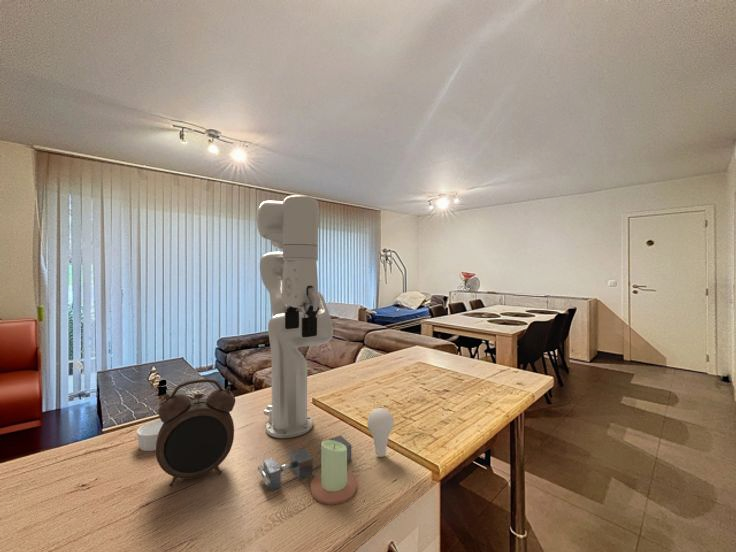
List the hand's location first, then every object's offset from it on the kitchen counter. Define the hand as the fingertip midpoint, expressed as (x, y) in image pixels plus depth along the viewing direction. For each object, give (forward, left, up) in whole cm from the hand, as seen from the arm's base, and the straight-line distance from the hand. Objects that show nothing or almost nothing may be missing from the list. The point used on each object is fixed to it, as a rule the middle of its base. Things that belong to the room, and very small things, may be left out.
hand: (300, 332), depth 69 cm
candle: (+11, -2, -29) cm, 31 cm away
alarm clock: (-16, -13, -30) cm, 36 cm away
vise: (+2, 0, -29) cm, 30 cm away
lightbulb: (+14, +12, -30) cm, 35 cm away
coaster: (+11, -2, -29) cm, 31 cm away
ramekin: (-37, -10, -30) cm, 49 cm away
